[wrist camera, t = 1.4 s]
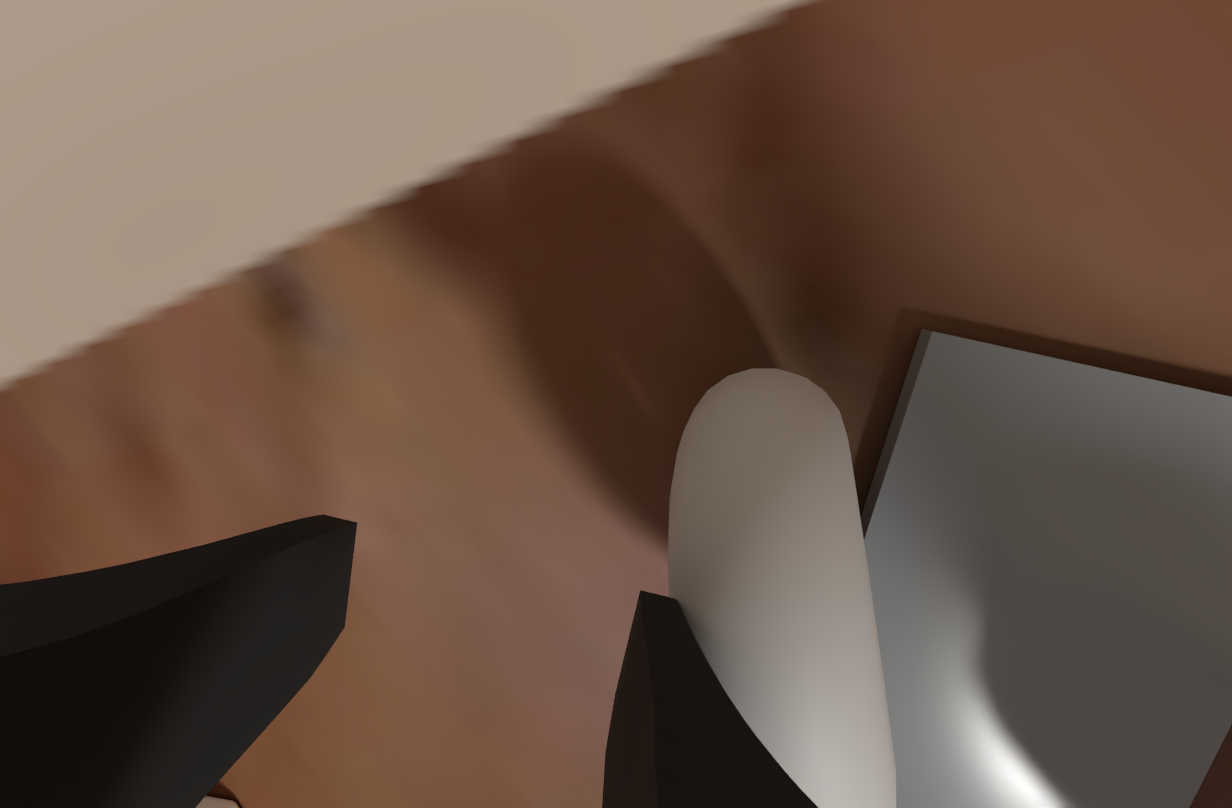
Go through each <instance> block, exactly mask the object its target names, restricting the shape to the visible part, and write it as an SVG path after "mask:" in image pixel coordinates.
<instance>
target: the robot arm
mask: <svg viewBox="0 0 1232 808" xmlns="http://www.w3.org/2000/svg"><path fill="white" fill-rule="evenodd" d="M356 528H357V523H356V522H352V521H348V520H343V519H339V518H335V517H331V516H327V515H318V516H312V517H307V518H302V519H298V520H294V521H290V522H286V523H282V524H278V525H275V526H271V527H267V528H264V529H260V530H256V531H253V532H249V533H245V534H242V535H238V536H234V537H231V538H227V539H224V540H220V541H216V542H213V543H209V544H205V545H201V546H197V547H193V548H189V549H185V550H181V551H177V552H173V553H168V554H164V555H160V556H156V557H152V558H148V559H144V560H140V561H135V562H131V563H127V564H122V565H117V566H113V567H107V568H102V569H97V570H92V571H87V572H81V573H75V574H70V575H64V576H58V577H52V578H46V579H40V580H34V581H27V582H20V583H12V584H3V585H0V808H196V807H197V805H198V804H199V803H200V802H201V801H202V799H203V798H204V797H205V796H206V795H207V793H208V792H209V791H210V790H211V789H212V788H213V787H214V786H215V785H216V783H217V782H218V781H219V780H220V779H221V778H222V777H223V776H224V774H225V773H226V772H227V771H228V770H229V769H230V768H231V767H232V766H233V764H234V763H235V762H236V761H237V760H238V759H239V758H240V757H241V755H242V754H243V753H244V752H245V751H246V750H247V749H248V748H249V747H250V745H251V744H252V743H253V742H254V741H255V740H256V739H257V738H258V736H259V735H260V734H261V733H262V732H263V731H264V730H265V729H266V728H267V726H268V725H269V724H270V723H271V722H272V721H273V720H274V719H275V717H276V716H277V715H278V714H279V713H280V712H281V711H282V709H283V708H284V707H285V706H286V705H287V704H288V703H289V702H290V700H291V699H292V698H293V697H294V696H295V695H296V694H297V692H298V691H299V690H300V689H301V688H302V687H303V685H304V684H305V683H306V682H307V681H308V680H309V678H310V677H311V676H312V675H313V673H314V672H315V670H316V669H317V667H318V666H319V665H320V663H321V662H322V660H323V659H324V657H325V656H326V655H327V653H328V652H329V650H330V648H331V647H332V645H333V644H334V642H335V641H336V639H337V638H338V636H339V635H340V633H341V632H342V630H343V629H344V627H345V619H346V611H347V602H348V594H349V586H350V578H351V569H352V561H353V553H354V544H355V536H356ZM602 808H818V807H817V806H816V805H815V803H814V802H813V801H812V800H811V799H810V798H809V797H808V796H807V795H806V794H805V793H804V792H803V791H802V790H801V789H800V788H799V787H798V785H797V784H796V783H795V782H794V781H793V780H792V779H791V778H790V776H789V775H788V774H787V773H786V772H785V771H784V770H783V768H782V767H781V766H780V765H779V763H778V762H777V761H776V760H775V759H774V757H773V756H772V755H771V754H770V752H769V751H768V750H767V749H766V747H765V746H764V745H763V744H762V742H761V741H760V740H759V739H758V738H757V736H756V735H755V734H754V732H753V731H752V730H751V728H750V727H749V725H748V724H747V723H746V721H745V720H744V719H743V717H742V716H741V714H740V713H739V711H738V710H737V708H736V707H735V705H734V704H733V702H732V701H731V699H730V698H729V696H728V695H727V693H726V691H725V690H724V688H723V687H722V685H721V683H720V681H719V680H718V678H717V676H716V674H715V673H714V671H713V669H712V668H711V666H710V664H709V662H708V661H707V659H706V657H705V655H704V653H703V651H702V649H701V648H700V646H699V644H698V642H697V640H696V638H695V636H694V634H693V632H692V630H691V628H690V626H689V624H688V621H687V619H686V617H685V615H684V613H683V611H682V609H681V607H680V605H679V603H678V601H677V600H676V599H674V598H670V597H666V596H662V595H657V594H653V593H649V592H645V591H641V590H640V594H639V598H638V602H637V607H636V611H635V615H634V619H633V623H632V627H631V631H630V635H629V640H628V644H627V648H626V652H625V656H624V660H623V664H622V669H621V673H620V677H619V681H618V685H617V689H616V693H615V699H614V705H613V711H612V717H611V723H610V729H609V735H608V741H607V747H606V755H605V771H604V787H603V804H602Z"/></svg>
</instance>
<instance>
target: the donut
mask: <svg viewBox="0 0 1232 808" xmlns="http://www.w3.org/2000/svg"><path fill="white" fill-rule="evenodd" d="M667 559H668V579H669V597H670V598H674V599H676V600H677V601H678V603H679V605H680V607H681V609H682V611H683V613H684V615H685V617H686V619H687V621H688V624H689V626H690V628H691V630H692V632H693V634H694V636H695V638H696V640H697V642H698V644H699V646H700V648H701V649H702V651H703V653H704V655H705V657H706V659H707V661H708V662H709V664H710V666H711V668H712V669H713V671H714V673H715V674H716V676H717V678H718V680H719V681H720V683H721V685H722V687H723V688H724V690H725V691H726V693H727V695H728V696H729V698H730V699H731V701H732V702H733V704H734V705H735V707H736V708H737V710H738V711H739V713H740V714H741V716H742V717H743V719H744V720H745V721H746V723H747V724H748V725H749V727H750V728H751V730H752V731H753V732H754V734H755V735H756V736H757V738H758V739H759V740H760V741H761V742H762V744H763V745H764V746H765V747H766V749H767V750H768V751H769V752H770V754H771V755H772V756H773V757H774V759H775V760H776V761H777V762H778V763H779V765H780V766H781V767H782V768H783V770H784V771H785V772H786V773H787V774H788V775H789V776H790V778H791V779H792V780H793V781H794V782H795V783H796V784H797V785H798V787H799V788H800V789H801V790H802V791H803V792H804V793H805V794H806V795H807V796H808V797H809V798H810V799H811V800H812V801H813V802H814V803H815V805H816V806H817V807H818V808H896V766H895V758H894V750H893V742H892V734H891V727H890V720H889V712H888V705H887V698H886V690H885V683H884V676H883V669H882V662H881V655H880V648H879V641H878V634H877V627H876V620H875V613H874V606H873V599H872V592H871V586H870V579H869V572H868V565H867V558H866V551H865V545H864V538H863V531H862V525H861V518H860V511H859V505H858V498H857V492H856V485H855V479H854V473H853V466H852V460H851V454H850V448H849V442H848V436H847V433H846V430H845V427H844V424H843V421H842V417H841V414H840V411H839V409H838V408H837V407H836V405H835V404H834V403H833V401H832V400H831V399H830V397H829V396H828V394H827V393H826V392H825V391H824V390H823V389H821V388H820V387H818V386H817V385H816V384H814V383H813V382H811V381H810V380H809V379H807V378H806V377H803V376H800V375H797V374H794V373H790V372H787V371H784V370H781V369H778V368H751V369H748V370H745V371H742V372H739V373H735V374H732V375H729V376H727V377H725V378H724V379H723V380H721V381H720V382H718V383H717V384H716V385H714V386H713V387H711V388H710V389H709V390H708V391H707V392H706V393H705V395H704V396H703V397H702V399H701V400H700V401H699V403H698V404H697V406H696V407H695V408H694V410H693V412H692V414H691V416H690V419H689V421H688V423H687V425H686V427H685V429H684V432H683V435H682V438H681V441H680V445H679V448H678V451H677V456H676V462H675V468H674V474H673V480H672V486H671V492H670V505H669V531H668V558H667Z"/></svg>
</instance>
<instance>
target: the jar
mask: <svg viewBox="0 0 1232 808" xmlns="http://www.w3.org/2000/svg"><path fill="white" fill-rule="evenodd" d="M196 808H239V806H238V804H237V803H236V802H235V801H232V800H227V799H221V798H216V797H210V796H205V797H204V798H203V799H202V801H201V802H200V803H199V804H198V805H197V807H196Z"/></svg>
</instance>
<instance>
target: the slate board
mask: <svg viewBox="0 0 1232 808" xmlns="http://www.w3.org/2000/svg"><path fill="white" fill-rule="evenodd" d="M861 525H862V531H863V538H864V545H865V551H866V558H867V565H868V572H869V579H870V586H871V592H872V599H873V606H874V613H875V620H876V627H877V634H878V641H879V648H880V655H881V662H882V669H883V676H884V683H885V690H886V698H887V705H888V712H889V720H890V727H891V734H892V742H893V750H894V758H895V766H896V808H1189V807H1190V805H1191V803H1192V802H1193V800H1194V798H1195V796H1196V794H1197V792H1198V790H1199V788H1200V786H1201V784H1202V782H1203V780H1204V778H1205V776H1206V774H1207V772H1208V770H1209V768H1210V766H1211V764H1212V762H1213V760H1214V758H1215V756H1216V754H1217V752H1218V750H1219V748H1220V747H1221V745H1222V743H1223V741H1224V739H1225V737H1226V735H1227V733H1228V731H1229V729H1230V727H1231V725H1232V396H1227V395H1223V394H1218V393H1213V392H1209V391H1204V390H1200V389H1195V388H1191V387H1186V386H1181V385H1177V384H1172V383H1168V382H1163V381H1159V380H1154V379H1150V378H1145V377H1140V376H1136V375H1131V374H1127V373H1122V372H1118V371H1113V370H1108V369H1104V368H1099V367H1095V366H1090V365H1086V364H1081V363H1076V362H1072V361H1067V360H1063V359H1058V358H1054V357H1049V356H1045V355H1040V354H1035V353H1031V352H1026V351H1022V350H1017V349H1013V348H1008V347H1003V346H999V345H994V344H990V343H985V342H981V341H976V340H972V339H967V338H962V337H958V336H953V335H949V334H944V333H940V332H935V331H930V330H926V329H921V332H920V335H919V338H918V341H917V344H916V347H915V351H914V354H913V357H912V360H911V363H910V366H909V369H908V372H907V375H906V378H905V381H904V385H903V388H902V391H901V394H900V397H899V400H898V403H897V406H896V409H895V412H894V416H893V419H892V422H891V425H890V428H889V431H888V434H887V437H886V440H885V443H884V446H883V450H882V453H881V456H880V459H879V462H878V465H877V468H876V471H875V474H874V477H873V480H872V484H871V487H870V490H869V493H868V496H867V499H866V502H865V505H864V508H863V511H862V515H861Z"/></svg>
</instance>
